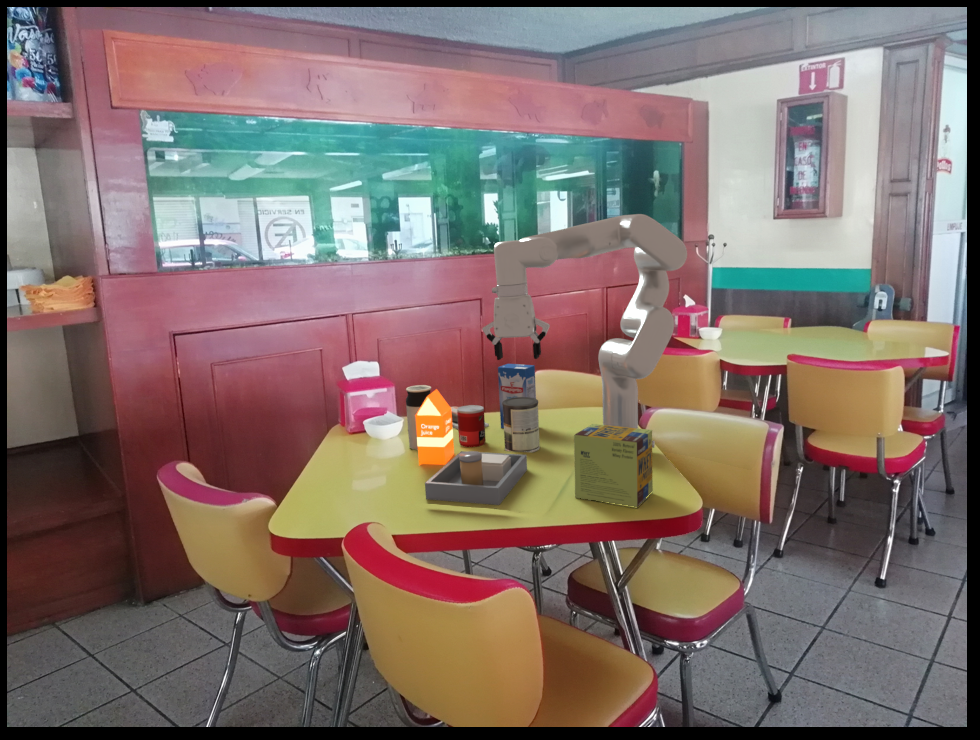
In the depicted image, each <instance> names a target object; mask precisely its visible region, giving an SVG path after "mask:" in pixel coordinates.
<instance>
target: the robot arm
mask: <svg viewBox="0 0 980 740" xmlns="http://www.w3.org/2000/svg"><path fill="white" fill-rule="evenodd" d="M493 247H494V248H493V254H494V255H493V256H494V265H495V278H496V279H495V280H496V285H495V287H492V288H491V293H492V294H496V296H497V297H495V298H494V302H493V303H494V304H493V321H490V322H489V323H488V324H487V325H485V326H483V327H482V328H481V330H482V331H483V333H484V334H485V336H486V338H487V340H488V341H490V343H492V345H493V347H494V348H493V349H494V355H495V357H496V360H497V361H500V360H501V359H503V357H504V352H503V351H504V350H503V344H502V342H501V340H502V339H503V338H504V339H505V338H506V339H507V338H508V339H509V338H528V337H529V338H530V339H531V340H532V341H533V343H532V353H533V359H534V360H538V359H539V358H540V356H541V355H542V349H541V348H542V347H541V341H542V340H543V339H544V337H546V336H547V333H548V331H549V329H550V326H551V325H550V323H548V322H546V321H543V320H542V319H540V318H536V313H535V307H534V302H533V300H532V295H530V294H529V290H528V289H529V288H528V276H527V269H529V268H533V269H536V268H538V269H543V268H548V267H550V266H551V265H553V264H554V263H555V262H556V261H558V260H565V259H585V258H592V257H594V256H595V257H596V256H598V255H602V254H606V253H611V252H615V251H620V250H623V249H627V248H628V249H629V248H630V249H632V248H633V249H634V250H633V260H634V263H635V264H636V265H635V266H636V269H637V271H638V284H637V286H636V288H635V291H634V292H633V293H634V294H632V295H633V296H632V297H631V299H630V301H629V303H628V304H627V307H626V309H625V310H624V312H623V314H622V316H621V319H620V326H619V327H620V329H621V331H622V333H623V334H625V335H626V336H627V337H630V338H633V340H630V339H625V338H620V337H619V338H617V337H616V338H610V339H608V340H606V341H605V342H604V343H602V344H601V347H600V349H599V350H598V355H597V357H598V364H599V370H600V376H601V386H602V387H601V388H602V389H601V391H602V425H609V426H620V427H629V428H637V429H639V409H638V408H639V406H638V405H639V404H638V403H639V402H638V401H639V399H638V397H639V388H638V382H637V380H642V379H645V378H647V377H648V376H650V375H651V374H652V373H653V372H654V370H655V368H656V367H657V365H658V363H659V361H660V360H661V358H662V355H663V354H664V352H665V349H666V348H667V346H668V344H669V342H670V341H671V338H672V335H673V333H674V328H675V319H674V317H673V314H672V313H671V311H670V310H669V309H667V308H666V307H664V306H665V303H666V301H667V298H668V296H669V293H670V281H669V277H668V273H667V272H673V271H677V270H679V269H681V268H682V267H683V266H684V265H685V264H686V261H687V258H688V249H687V246H686V245H685V243H684V242H683V240H682V239H680V238H679V237H678V236H677V235H675V234H674V233H673V232H671V231H670V230H669V229H667V227H665V226H663V224H661V223H659V222H658V221H657V220H656V219H654V218H652V217H651V216H649V215H647V214H644V213H643V214H642V213H636V214H624V215H617V216H613V217H609V218H605V219H601V220H596V221H593V222H587V223H583V224H578V225H574V226H569V227H567V228H566V227H565V228H563V229H558V230H553V231H548V232H543V233H539V234H534V235H530V236H526V237H522V238H521V239H519V240H516V239H515V240H505V241H503V240H502V241H498V242H496V243H495V244H494V246H493ZM538 326H539V327H541V328H542V330H541V332H540V334H539V333H538V332H537V327H538ZM492 328H493V331H494V334H493V333H492V332H491V329H492ZM655 444H656V443H655V440H652V449H653V448H655Z"/></svg>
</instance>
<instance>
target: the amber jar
mask: <svg viewBox="0 0 980 740" xmlns="http://www.w3.org/2000/svg"><path fill="white" fill-rule="evenodd" d="M459 460H460V469H461V482H462V484H470V485H483V471H482V453H480V451H477V450H476V451H475V450H474V451H473V450H471V451H466V452H464V453H461V454H460V455H459Z"/></svg>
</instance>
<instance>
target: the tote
mask: <svg viewBox="0 0 980 740" xmlns="http://www.w3.org/2000/svg"><path fill="white" fill-rule="evenodd" d="M464 452H467V451H463V450H461V451H460V452H459V453H457V454H456V455H455V456H454V457H452V458H451V459H450V460H449V461H448V462H447V463H446V464H445V465H443V467H441V468H440V469H439V470H438V471H437V472H436V473H434V474H433V475H432V476H431V477H430V478H429V479H428V480H427V481H425V483H424V486H425V487H424V488H425V490H424V491H425V500H430V501H445V502H454V503H455V502H456V503H466V504H467V503H469V504H478V505H479V504H480V505H492V506H500V505H501V503H502V502H503V501H504V500H505V499H506V497H507V496H508V494H509V493H510V492H511V491H512V490H513V488H515V486H516V485H517V483H518V482H519V481H520V479H521V478H522V477H523V476H524V474H525V473H526V472H527V471H528V459H527V458H528V456H527V454H521V453H520V454H517V453H516V454H515V453H500V452H499V453H498V452H480V451H479V452H480V453H482V454H496V455H509V457H511V469H510V470H509V471H508V472H507V473H506V475H505V476H504V477H503V478H502V479H501V480H500V481H488V480H483V485H470V484H462V482H461V469H460V460H459V455H460V454H461V453H464ZM495 509H496V508H494V510H495Z"/></svg>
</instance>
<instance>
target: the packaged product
mask: <svg viewBox="0 0 980 740" xmlns="http://www.w3.org/2000/svg"><path fill="white" fill-rule="evenodd" d="M450 407H451V412H452V427H453V429H454V428H456V429H455V430H457V429H458V417H457V409H458V408H459V407H460V406H456V405H455V406H450ZM487 427H490V423H487V422H485V428H487Z"/></svg>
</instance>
